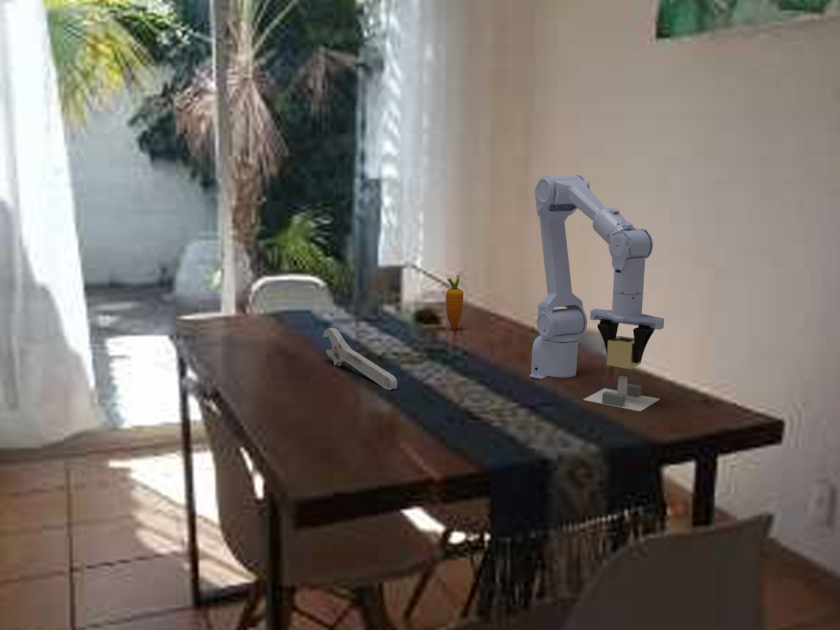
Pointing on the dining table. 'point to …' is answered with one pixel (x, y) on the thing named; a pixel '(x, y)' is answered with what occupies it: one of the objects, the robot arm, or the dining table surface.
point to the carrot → (454, 303)
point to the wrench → (357, 360)
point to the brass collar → (621, 352)
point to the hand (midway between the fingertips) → (624, 359)
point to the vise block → (623, 396)
